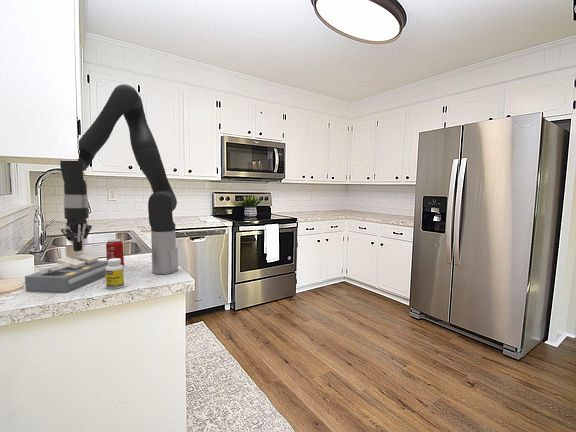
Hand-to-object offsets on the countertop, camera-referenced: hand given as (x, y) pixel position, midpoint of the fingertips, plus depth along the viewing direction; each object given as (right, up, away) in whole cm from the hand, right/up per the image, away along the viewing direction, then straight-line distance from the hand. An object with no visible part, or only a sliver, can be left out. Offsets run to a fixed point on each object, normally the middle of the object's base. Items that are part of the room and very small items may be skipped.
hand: (78, 250), depth 114 cm
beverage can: (+7, -9, +12) cm, 17 cm away
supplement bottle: (+21, -12, -11) cm, 26 cm away
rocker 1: (+2, -5, -14) cm, 15 cm away
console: (+2, -10, -6) cm, 12 cm away
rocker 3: (+2, -4, 0) cm, 5 cm away
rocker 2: (+2, -5, -7) cm, 9 cm away
